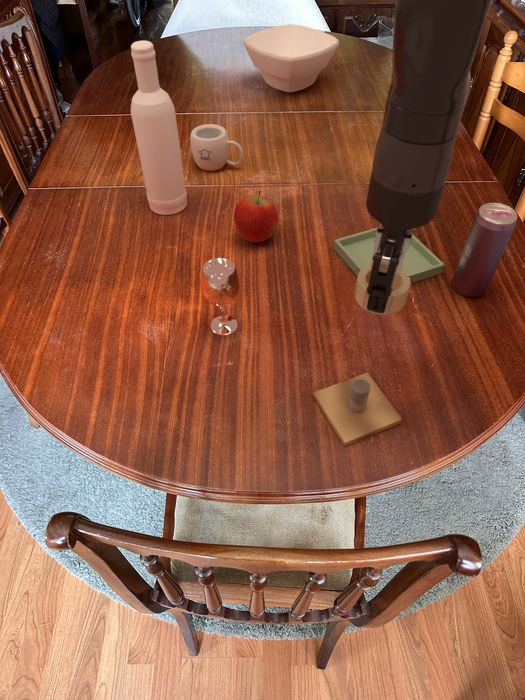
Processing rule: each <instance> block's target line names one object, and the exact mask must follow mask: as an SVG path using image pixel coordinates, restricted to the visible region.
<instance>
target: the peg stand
mask: <svg viewBox="0 0 525 700" xmlns="http://www.w3.org/2000/svg"><path fill="white" fill-rule="evenodd" d="M312 398H313V399H314V400H315V402H316V404H317V405H318V407H319V408H320V410H321V412H322V413H323V415H324V416H325V418H326V420H327V421H328V423H329V424H330V426H331V428H332V429H333V431H334V433H335V434H336V436H337V437H338V439H339V440H340V442H341V444H342V445H343V447H347V446H349V445H352V444H354V443H357V442H359V441H361V440H364V439H367V438H368V437H371V436H373V435H376V434H378V433H380V432H383V431H385V430H388V429H391V428H392V427H395V426H397V425H400V424H401V423H402V421H403V418H402V417H401V416H400V414H399V413H398V411H397V410H396V408H394V407H395V406H393V404H392V403H391V402H390V401H389V399H388V398H387V396H386V395H385V394H384V393H383V391H382V390H381V388H380V387H379V385H378V384H377V383H376V382H375V380H374V379H373V378H372V376H371V375H370V374H369V372H364V373H361V374H359V375H356V376H354V377H351V378H349V379H346V380H343V381H341V382H338V383H336V384H332V385H330V386H327V387H324V388H322V389H319V390H316V391H313V392H312Z"/></svg>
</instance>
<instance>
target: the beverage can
mask: <svg viewBox="0 0 525 700" xmlns="http://www.w3.org/2000/svg"><path fill="white" fill-rule="evenodd" d="M517 220H518V213H517V212H516V210H515V209H513V208H512V207H511V206H508V205H507V204H504V203H500V202H499V203H498V202H488V203H484V204H482V205H481V206H480V207H479V209H478V211H477V212H476V213H475V216H474V218H473V222H472V224H471V226H470V229H469V232H468V235H467V237H466V240H465V242H464V245H463V248H462V250H461V254H460V257H459V259H458V263H457V265H456V267H455V271H454V273H453V276H452V279H451V284H452V287H453V289H454V290H455V292H456V293H458V295H462V296H464V297H467V298H477V297H481V296H482V295H484V294H485V293H487V291H488V290H489V287H490V285H491V282H492V280H493V278H494V276H495V273H496V272H497V268H498V266H499V264H500V261H501V259H502V257H503V255H504V253H505V250H506V248H507V246H508V244H509V241H510V239H511V237H512V235H513V232H514V230H515V228H516V225H517Z"/></svg>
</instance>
